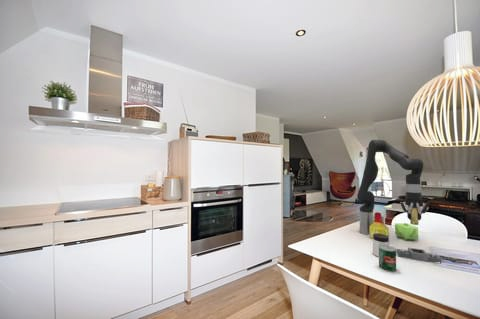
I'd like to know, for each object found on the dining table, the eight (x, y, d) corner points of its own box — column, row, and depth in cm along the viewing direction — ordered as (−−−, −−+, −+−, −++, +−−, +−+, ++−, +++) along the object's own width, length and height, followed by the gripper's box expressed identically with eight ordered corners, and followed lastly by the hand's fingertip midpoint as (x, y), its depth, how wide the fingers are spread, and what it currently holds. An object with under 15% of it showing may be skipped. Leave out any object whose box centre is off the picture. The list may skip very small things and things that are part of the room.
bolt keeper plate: (398, 257, 129) (398, 250, 129) (396, 252, 136) (396, 245, 136) (441, 264, 120) (441, 256, 120) (436, 258, 127) (436, 251, 127)
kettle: (417, 243, 149) (417, 227, 149) (392, 238, 159) (392, 223, 159) (419, 238, 160) (419, 223, 160) (396, 233, 170) (396, 219, 170)
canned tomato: (390, 273, 112) (390, 252, 112) (375, 266, 119) (375, 246, 119) (399, 269, 115) (399, 249, 115) (384, 263, 122) (384, 244, 122)
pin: (411, 224, 130) (410, 207, 130) (409, 222, 133) (409, 206, 133) (419, 225, 128) (418, 208, 128) (417, 223, 131) (416, 207, 132)
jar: (374, 257, 130) (374, 237, 130) (370, 251, 138) (370, 232, 138) (391, 259, 127) (391, 238, 127) (387, 253, 135) (386, 234, 135)
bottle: (368, 238, 160) (368, 211, 160) (370, 236, 164) (370, 210, 164) (387, 243, 151) (387, 214, 151) (389, 240, 155) (389, 213, 155)
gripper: (400, 191, 131) (401, 220, 130) (430, 192, 125) (431, 222, 124) (397, 190, 138) (398, 217, 137) (426, 191, 131) (427, 219, 131)
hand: (414, 219), depth 131 cm, fingers closed on pin, 3 cm apart
